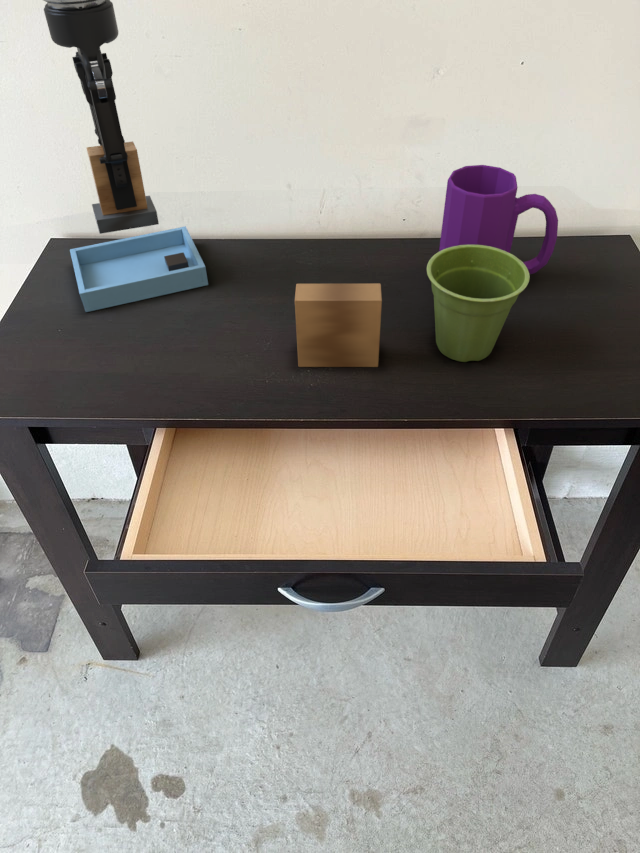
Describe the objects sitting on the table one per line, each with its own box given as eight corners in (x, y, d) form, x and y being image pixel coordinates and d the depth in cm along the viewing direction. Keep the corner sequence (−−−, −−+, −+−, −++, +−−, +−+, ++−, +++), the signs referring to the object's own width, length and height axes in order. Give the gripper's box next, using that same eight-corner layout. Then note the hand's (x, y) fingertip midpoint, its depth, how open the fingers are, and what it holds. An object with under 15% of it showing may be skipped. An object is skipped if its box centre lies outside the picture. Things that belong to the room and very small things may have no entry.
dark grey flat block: (169, 271, 98) (168, 266, 97) (165, 261, 100) (163, 256, 99) (189, 267, 98) (187, 261, 98) (184, 257, 100) (183, 252, 100)
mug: (436, 260, 99) (447, 162, 89) (541, 266, 98) (566, 167, 87) (435, 295, 93) (448, 194, 82) (548, 301, 91) (576, 199, 81)
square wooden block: (298, 367, 83) (294, 300, 75) (299, 349, 85) (296, 283, 78) (378, 367, 82) (381, 300, 75) (377, 349, 85) (380, 283, 78)
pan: (85, 312, 92) (79, 293, 90) (75, 267, 100) (69, 249, 98) (208, 285, 96) (205, 266, 94) (188, 244, 104) (185, 226, 102)
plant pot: (411, 368, 82) (419, 291, 74) (426, 313, 90) (434, 239, 82) (508, 383, 80) (527, 306, 72) (514, 325, 88) (531, 250, 80)
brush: (99, 234, 89) (81, 160, 82) (95, 217, 92) (77, 145, 85) (158, 224, 91) (146, 151, 84) (152, 208, 94) (139, 137, 87)
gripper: (122, 13, 69) (163, 222, 85) (101, -18, 79) (141, 173, 96) (48, 21, 67) (104, 233, 83) (36, -12, 77) (88, 181, 94)
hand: (124, 200), depth 90 cm, fingers closed on brush, 3 cm apart
